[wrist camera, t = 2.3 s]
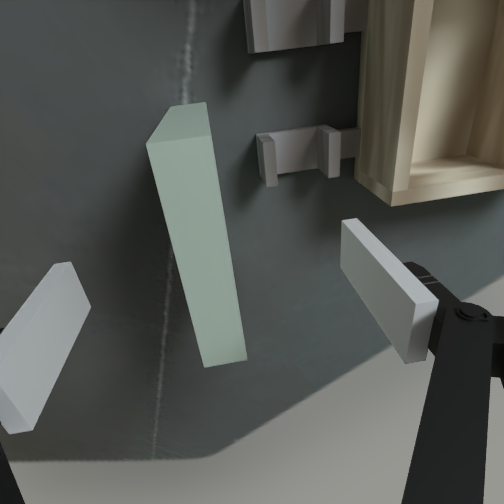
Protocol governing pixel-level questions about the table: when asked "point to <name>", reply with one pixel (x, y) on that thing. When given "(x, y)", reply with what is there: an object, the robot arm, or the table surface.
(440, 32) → the wooden divided box
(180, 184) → the block
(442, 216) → the table surface
